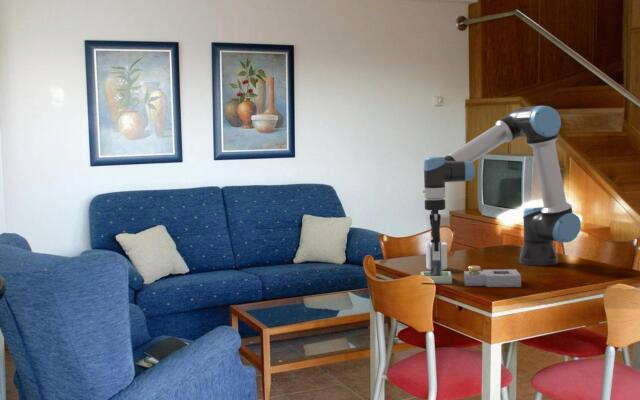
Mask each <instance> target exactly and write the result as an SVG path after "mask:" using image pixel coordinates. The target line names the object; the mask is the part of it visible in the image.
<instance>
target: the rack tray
mask: <svg viewBox="0 0 640 400" xmlns="http://www.w3.org/2000/svg"><path fill="white" fill-rule="evenodd" d="M441 271H442V276H431V270H428V271H420V276H421V275H425V276H428V277H430V278H432V279H433V280H434V281H435V283H436V284H437V285H438V284H439V285H440V284H441V285H443V284H444V285H447V284H448V285H449V284H450V285H452V284H453V276H452V272H451V271H450V270H449V271H447V270H446V271H445V270H441ZM436 284H435V285H436Z"/></svg>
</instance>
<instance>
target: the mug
mask: <svg viewBox="0 0 640 400" xmlns="http://www.w3.org/2000/svg"><path fill="white" fill-rule="evenodd" d="M425 260H426V261H425V264H426V267H425V268H426V269H427V270H428V269H429V270H428V271H431V267H430V242H426V243H425ZM447 268H448V243H447V242H444V241H443V242H442V241H441V271H445V270H447Z"/></svg>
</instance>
